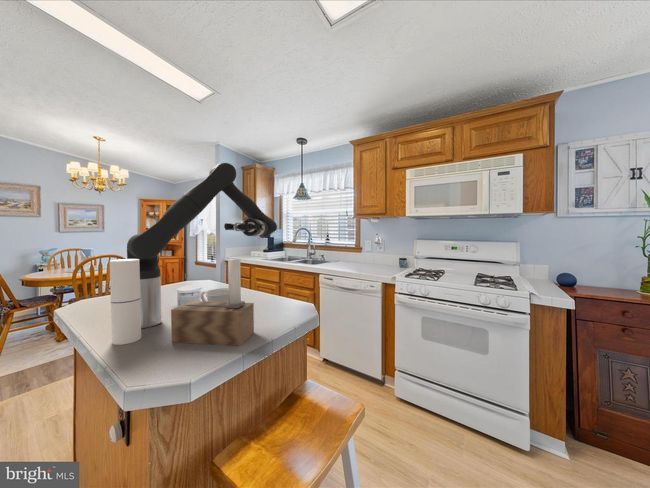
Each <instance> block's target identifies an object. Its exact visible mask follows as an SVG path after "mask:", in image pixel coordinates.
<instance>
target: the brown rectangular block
mask: <svg viewBox="0 0 650 488" xmlns="http://www.w3.org/2000/svg"><path fill="white" fill-rule="evenodd" d="M227 303H229V302H206V301H202V300H200V301H199V300H198V301H197V300H191V301H188V302H186V303H184V304H182V305H180V306H176V307H173V308H171V309H170V316H171V317H170V318H171V319H170V320H171V321H170V322H171V326H170V327H171V343H182V344H183V343H185V344H198V345H199V344H204V345H221V346H242V345H243V344H244V343H245V342H246V341H247V340H248V339H249V338H250V337H251V336H252V335H253V334H254V331H255V328H254V327H255V324H254V322H255V321H254V319H255V317H254V315H255V311H254V308H255V307H254V302H245V304H244V305H242V306H241V307H239V308H224V305H226V304H227Z"/></svg>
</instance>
